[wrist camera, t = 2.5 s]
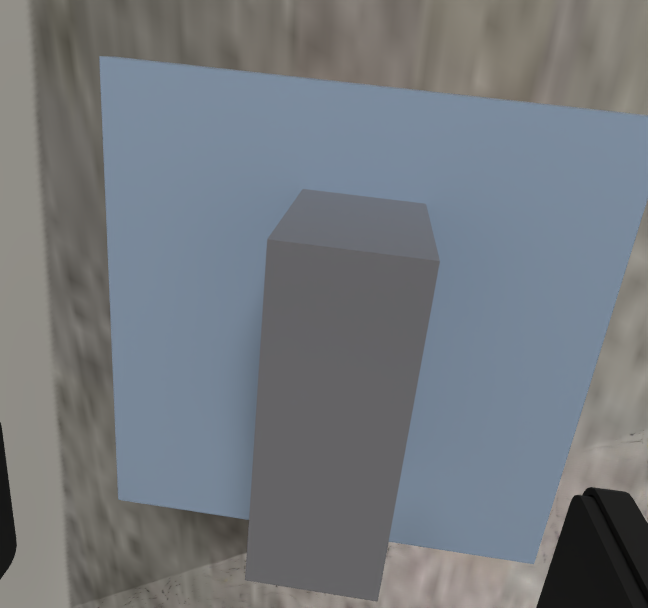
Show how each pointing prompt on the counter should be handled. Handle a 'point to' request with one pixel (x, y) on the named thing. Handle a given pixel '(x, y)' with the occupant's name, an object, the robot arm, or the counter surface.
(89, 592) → the counter surface
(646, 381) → the counter surface
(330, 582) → the lid
